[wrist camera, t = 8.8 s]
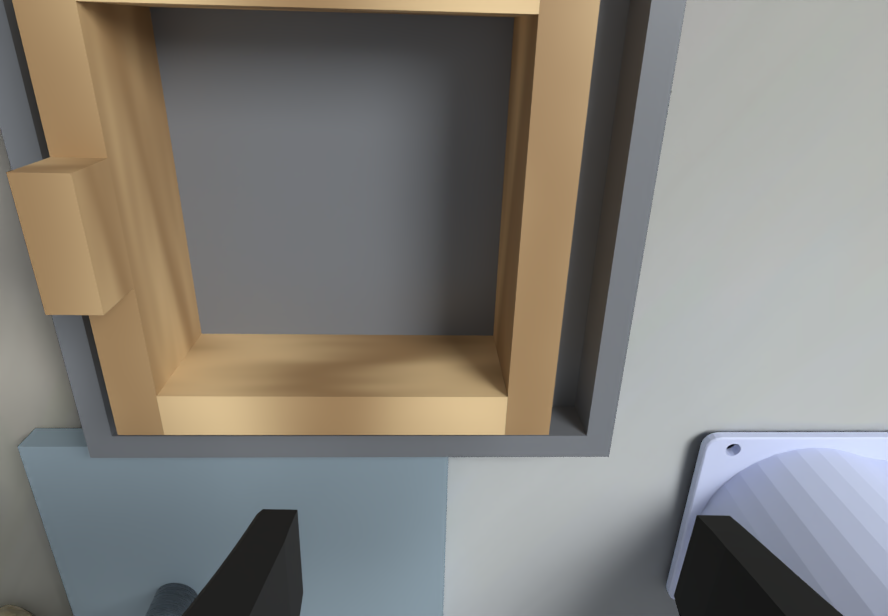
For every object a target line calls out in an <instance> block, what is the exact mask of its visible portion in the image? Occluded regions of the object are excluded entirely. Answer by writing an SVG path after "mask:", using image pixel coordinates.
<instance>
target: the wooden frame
mask: <svg viewBox="0 0 888 616" xmlns="http://www.w3.org/2000/svg"><path fill="white" fill-rule="evenodd" d="M12 3H13V7H14V11H15V15H16V19H17V23H18V27H19V31H20V35H21V40H22V44H23V48H24V52H25V56H26V60H27V64H28V68H29V72H30V76H31V81H32V85H33V89H34V93H35V97H36V101H37V105H38V109H39V113H40V118H41V122H42V126H43V130H44V134H45V138H46V142H47V146H48V150H49V155H50V157H49V158H46V159H44V160H41V161H38V162H35V163H32V164H29V165H26V166H23V167H20V168H17V169H15V170H12V171H9V172H6V173H7V177H8V180H9V184H10V188H11V191H12V195H13V198H14V202H15V206H16V209H17V213H18V217H19V220H20V224H21V227H22V231H23V235H24V238H25V242H26V245H27V249H28V253H29V256H30V260H31V264H32V267H33V271H34V274H35V278H36V282H37V285H38V289H39V293H40V296H41V300H42V303H43V307H44V311H45V314H46V315H89V319H90V323H91V327H92V331H93V335H94V339H95V344H96V348H97V352H98V356H99V360H100V364H101V368H102V372H103V376H104V380H105V385H106V389H107V393H108V397H109V401H110V405H111V409H112V413H113V417H114V422H115V426H116V430H117V434H118V435H549V429H550V421H551V412H552V404H553V395H554V387H555V378H556V370H557V362H558V353H559V345H560V336H561V328H562V319H563V311H564V302H565V294H566V285H567V277H568V269H569V260H570V252H571V243H572V235H573V226H574V218H575V209H576V201H577V192H578V184H579V176H580V167H581V159H582V150H583V142H584V133H585V125H586V116H587V108H588V99H589V91H590V83H591V74H592V66H593V57H594V49H595V40H596V32H597V23H598V15H599V6H600V0H12ZM150 7H170V8H205V9H240V10H275V11H311V12H346V13H381V14H416V15H452V16H487V17H514V29H513V44H512V60H511V75H510V90H509V105H508V120H507V135H506V150H505V165H504V181H503V196H502V211H501V226H500V241H499V256H498V271H497V286H496V302H495V317H494V332H493V336H478V335H327V334H202V333H201V327H200V320H199V314H198V308H197V301H196V295H195V289H194V283H193V276H192V270H191V264H190V258H189V251H188V245H187V239H186V232H185V226H184V220H183V214H182V207H181V201H180V195H179V189H178V182H177V176H176V170H175V163H174V157H173V151H172V145H171V138H170V132H169V126H168V120H167V113H166V107H165V101H164V95H163V88H162V82H161V76H160V69H159V63H158V57H157V51H156V44H155V38H154V32H153V26H152V19H151V13H150Z"/></svg>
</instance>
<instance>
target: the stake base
mask: <svg viewBox="0 0 888 616" xmlns="http://www.w3.org/2000/svg"><path fill="white" fill-rule="evenodd" d="M18 450H19V453H20V456H21V459H22V462H23V465H24V468H25V471H26V474H27V477H28V480H29V483H30V486H31V489H32V492H33V495H34V498H35V501H36V504H37V507H38V510H39V513H40V516H41V519H42V522H43V525H44V528H45V531H46V534H47V537H48V540H49V543H50V546H51V549H52V552H53V555H54V558H55V561H56V564H57V567H58V570H59V573H60V576H61V579H62V582H63V585H64V588H65V591H66V594H67V597H68V600H69V603H70V606H71V609H72V612H73V615H74V616H145V615H146V613H147V611H148V609H149V606H150V604H151V602H152V600H153V598H154V596H155V594H156V592H157V590H158V589H159V588H160V587H161V586H163V585H165V584H168V583H180V584H184V585H187V586H189V587H191V588H192V589H194V590H195V591H196V592H197V594H199V593H200V592H201V591H202V589H203V588H204V587H205V585H206V584H207V583H208V582H209V580H210V579H211V578H212V577H213V575H214V574H215V573H216V571H217V570H218V569H219V567H220V566H221V564H222V563H223V562H224V560H225V559H226V558H227V556H228V555H229V554H230V552H231V551H232V549H233V548H234V547H235V545H236V544H237V542H238V541H239V540H240V538H241V537H242V535H243V534H244V532H245V531H246V529H247V528H248V526H249V525H250V524H251V522H252V520H253V519H254V517H255V516H256V514H257V513H259V512H260V511H261V510H262V509H291V510H298V524H299V538H300V553H301V567H302V581H303V598H302V604H301V611H300V616H443V602H444V572H445V542H446V512H447V481H448V457H256V458H90V455H89V451H88V447H87V444H86V440H85V436H84V433H83V429H82V428H35V429H34V430H33V431H32V432H31V433H30V434H29V435H28V437H27V438H26V439H25V440H24V441H23V442H22V443H21V444H20V445H19V446H18Z"/></svg>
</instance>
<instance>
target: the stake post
mask: <svg viewBox="0 0 888 616" xmlns="http://www.w3.org/2000/svg"><path fill="white" fill-rule="evenodd" d="M197 596H198V594H197V592H196V591H195V590H194V589H192V588H191V587H189V586H187V585H184V584H180V583H168V584H165V585H163V586H161V587H160V588H159V589H158V590H157V592H156V594H155V596H154V598H153V600H152V602H151V604H150V606H149V609H148V611H147V613H146V615H145V616H182V615H183V613H184V612H185V611H186V610H187V608H188V607H189V606H190V605H191V603H192V602H193V601H194V599H195V598H196V597H197Z"/></svg>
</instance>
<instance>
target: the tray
mask: <svg viewBox="0 0 888 616" xmlns="http://www.w3.org/2000/svg"><path fill="white" fill-rule="evenodd" d="M686 1H687V0H600V6H599V15H598V23H597V32H596V40H595V49H594V57H593V66H592V74H591V83H590V91H589V99H588V108H587V116H586V125H585V133H584V142H583V150H582V159H581V167H580V176H579V184H578V192H577V201H576V209H575V218H574V226H573V235H572V243H571V252H570V260H569V269H568V277H567V285H566V294H565V302H564V311H563V319H562V328H561V336H560V345H559V353H558V362H557V370H556V378H555V387H554V395H553V404H552V412H551V421H550V429H549V435H118V434H117V430H116V426H115V422H114V417H113V413H112V409H111V405H110V401H109V397H108V393H107V389H106V385H105V380H104V376H103V372H102V368H101V364H100V360H99V356H98V352H97V348H96V344H95V339H94V335H93V331H92V327H91V323H90V319H89V315H52V319H53V323H54V326H55V330H56V334H57V337H58V341H59V345H60V348H61V352H62V356H63V359H64V363H65V367H66V370H67V374H68V378H69V381H70V385H71V389H72V392H73V396H74V400H75V403H76V407H77V411H78V414H79V418H80V422H81V425H82V429H83V433H84V436H85V440H86V444H87V447H88V451H89V455H90V458H256V457H609V453H610V447H611V441H612V435H613V429H614V423H615V418H616V412H617V406H618V400H619V394H620V388H621V382H622V376H623V371H624V365H625V359H626V353H627V347H628V341H629V335H630V329H631V324H632V318H633V312H634V306H635V300H636V294H637V288H638V282H639V277H640V271H641V265H642V259H643V253H644V247H645V241H646V235H647V230H648V224H649V218H650V212H651V206H652V200H653V194H654V188H655V183H656V177H657V171H658V165H659V159H660V153H661V147H662V142H663V136H664V130H665V124H666V118H667V112H668V106H669V100H670V95H671V89H672V83H673V77H674V71H675V65H676V59H677V53H678V48H679V42H680V36H681V30H682V24H683V18H684V12H685V6H686ZM150 13H151V19H152V26H153V32H154V38H155V44H156V51H157V57H158V63H159V69H160V76H161V82H162V88H163V95H164V101H165V107H166V113H167V120H168V126H169V132H170V138H171V145H172V151H173V157H174V163H175V170H176V176H177V182H178V189H179V195H180V201H181V207H182V214H183V220H184V226H185V232H186V239H187V245H188V251H189V258H190V264H191V270H192V276H193V283H194V289H195V295H196V301H197V308H198V314H199V320H200V327H201V333H202V334H327V335H478V336H493V332H494V317H495V302H496V286H497V271H498V256H499V241H500V226H501V211H502V196H503V181H504V165H505V150H506V135H507V120H508V105H509V90H510V75H511V60H512V44H513V29H514V17H487V16H452V15H416V14H381V13H346V12H311V11H275V10H240V9H205V8H170V7H150ZM0 129H1V132H2V136H3V140H4V143H5V147H6V151H7V154H8V158H9V162H10V165H11V169H12V170H15V169H17V168H20V167H23V166H26V165H29V164H32V163H35V162H38V161H41V160H44V159H46V158H49V157H50V155H49V150H48V146H47V142H46V138H45V134H44V130H43V126H42V122H41V118H40V113H39V109H38V105H37V101H36V97H35V93H34V89H33V85H32V81H31V76H30V72H29V68H28V64H27V60H26V56H25V52H24V48H23V44H22V40H21V35H20V31H19V27H18V23H17V19H16V15H15V11H14V7H13V3H12V0H0Z"/></svg>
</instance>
